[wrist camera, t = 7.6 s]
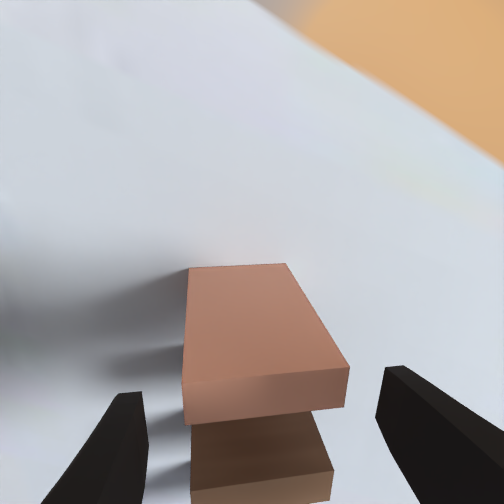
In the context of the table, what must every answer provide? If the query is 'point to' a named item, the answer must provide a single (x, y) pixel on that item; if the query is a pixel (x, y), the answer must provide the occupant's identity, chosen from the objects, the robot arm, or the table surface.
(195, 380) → the terracotta domino
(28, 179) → the table surface
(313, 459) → the walnut domino
